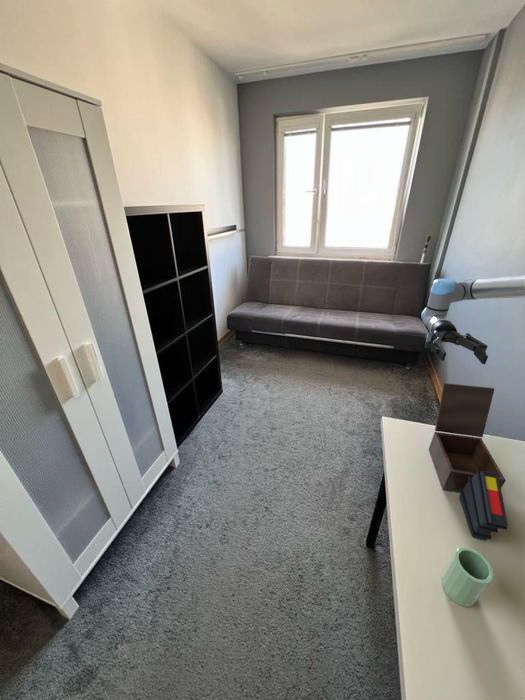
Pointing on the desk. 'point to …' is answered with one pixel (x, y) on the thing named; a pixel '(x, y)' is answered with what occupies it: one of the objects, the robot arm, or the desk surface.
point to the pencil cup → (466, 576)
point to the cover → (464, 409)
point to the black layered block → (483, 505)
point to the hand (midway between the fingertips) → (464, 358)
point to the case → (460, 460)
